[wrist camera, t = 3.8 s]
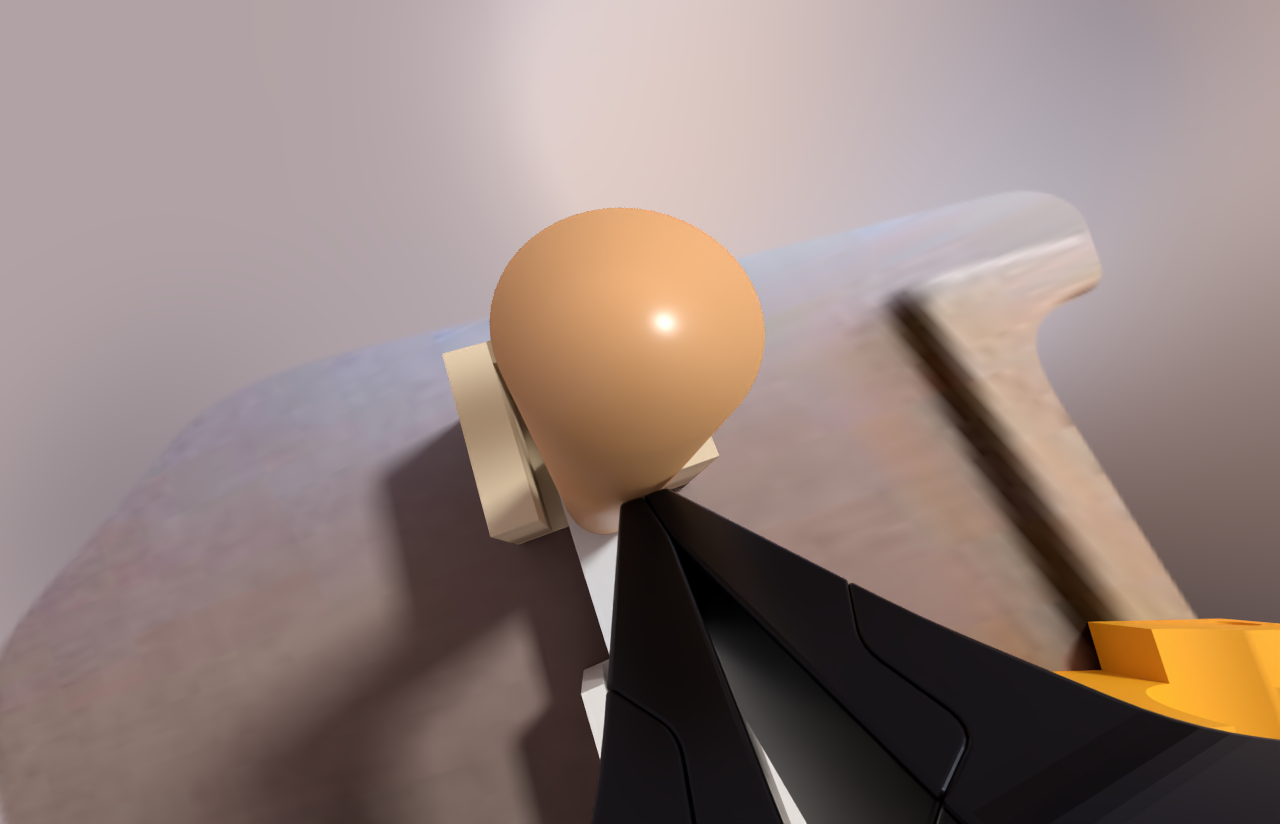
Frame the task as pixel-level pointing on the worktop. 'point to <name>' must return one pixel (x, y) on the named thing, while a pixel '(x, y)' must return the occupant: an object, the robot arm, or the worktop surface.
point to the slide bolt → (622, 361)
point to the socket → (515, 451)
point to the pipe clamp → (1192, 671)
